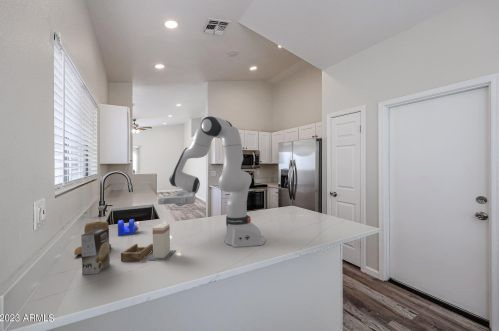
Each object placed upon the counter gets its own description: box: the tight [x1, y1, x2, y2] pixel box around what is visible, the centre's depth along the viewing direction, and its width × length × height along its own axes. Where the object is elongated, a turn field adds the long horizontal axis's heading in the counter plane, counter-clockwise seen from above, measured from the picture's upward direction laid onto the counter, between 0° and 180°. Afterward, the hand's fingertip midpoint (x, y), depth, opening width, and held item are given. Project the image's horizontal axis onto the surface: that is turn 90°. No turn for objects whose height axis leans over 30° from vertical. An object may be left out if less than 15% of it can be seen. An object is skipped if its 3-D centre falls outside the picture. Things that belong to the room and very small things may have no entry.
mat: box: [146, 249, 176, 262], centre depth 109 cm, size 9×11×1 cm
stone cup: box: [73, 220, 112, 256], centre depth 117 cm, size 15×12×15 cm
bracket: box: [117, 218, 138, 237], centre depth 150 cm, size 18×8×9 cm, turn 17°
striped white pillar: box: [152, 223, 171, 258], centre depth 108 cm, size 5×7×14 cm
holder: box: [120, 243, 153, 262], centre depth 109 cm, size 9×12×4 cm
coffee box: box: [80, 228, 111, 276], centre depth 96 cm, size 9×6×16 cm
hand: (171, 201), depth 120 cm, fingers open, 8 cm apart
